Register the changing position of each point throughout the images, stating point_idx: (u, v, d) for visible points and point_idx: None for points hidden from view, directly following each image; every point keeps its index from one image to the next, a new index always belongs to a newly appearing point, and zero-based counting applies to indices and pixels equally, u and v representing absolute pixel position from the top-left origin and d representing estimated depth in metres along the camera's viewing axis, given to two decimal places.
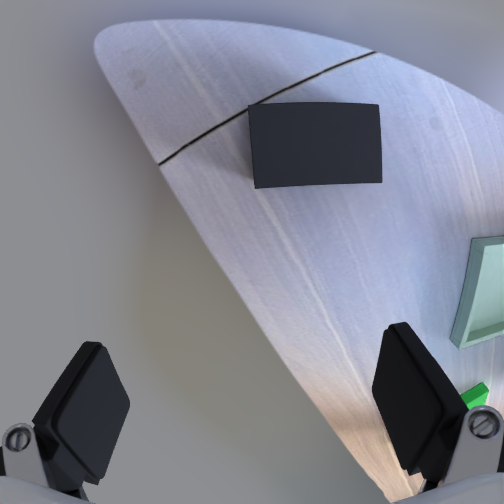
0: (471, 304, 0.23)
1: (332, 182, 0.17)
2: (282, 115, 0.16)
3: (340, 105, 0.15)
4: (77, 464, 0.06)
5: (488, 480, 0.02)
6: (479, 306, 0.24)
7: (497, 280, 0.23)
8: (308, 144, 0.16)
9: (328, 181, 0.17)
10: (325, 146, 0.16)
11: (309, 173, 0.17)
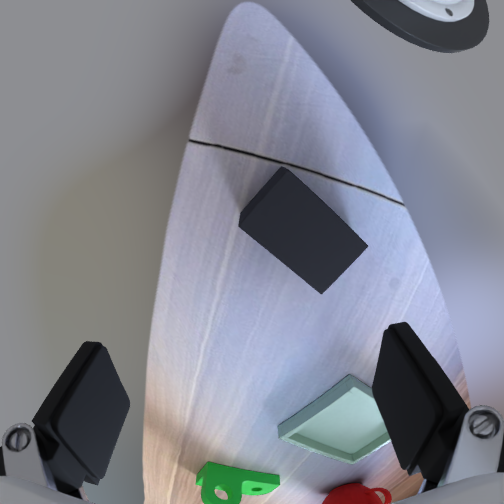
0: (312, 416, 0.29)
1: (290, 267, 0.21)
2: (302, 197, 0.19)
3: (344, 225, 0.20)
4: (77, 464, 0.06)
5: (488, 480, 0.02)
6: (317, 421, 0.32)
7: (344, 415, 0.31)
8: (299, 230, 0.20)
9: (288, 264, 0.21)
10: (308, 241, 0.20)
11: (281, 248, 0.20)
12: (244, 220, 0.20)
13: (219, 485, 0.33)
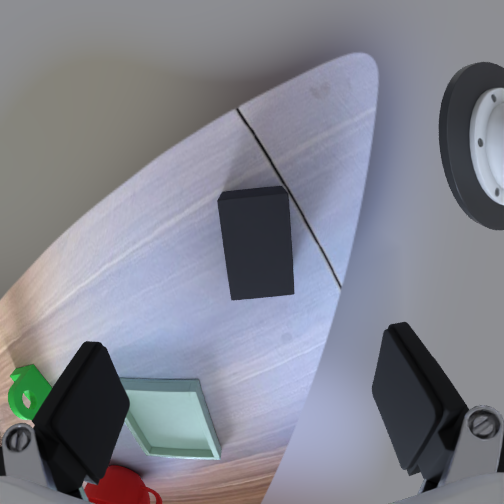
0: (145, 390, 0.30)
1: (227, 261, 0.22)
2: (279, 220, 0.21)
3: (290, 264, 0.23)
4: (77, 464, 0.06)
5: (488, 480, 0.02)
6: (144, 397, 0.32)
7: (169, 409, 0.33)
8: (256, 240, 0.22)
9: (227, 258, 0.22)
10: (255, 254, 0.22)
11: (233, 242, 0.22)
12: (225, 200, 0.21)
13: (29, 391, 0.29)
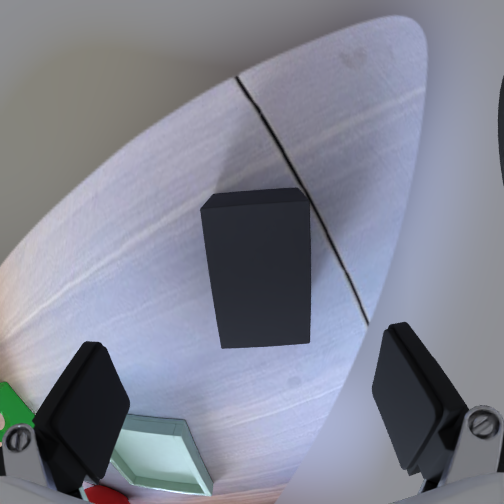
0: (123, 428, 0.23)
1: (214, 297, 0.15)
2: (294, 241, 0.14)
3: (307, 305, 0.15)
4: (77, 464, 0.06)
5: (488, 480, 0.02)
6: (124, 432, 0.25)
7: (153, 445, 0.26)
8: (258, 270, 0.15)
9: (215, 293, 0.15)
10: (257, 290, 0.15)
11: (223, 271, 0.15)
12: (212, 208, 0.14)
13: (3, 412, 0.23)
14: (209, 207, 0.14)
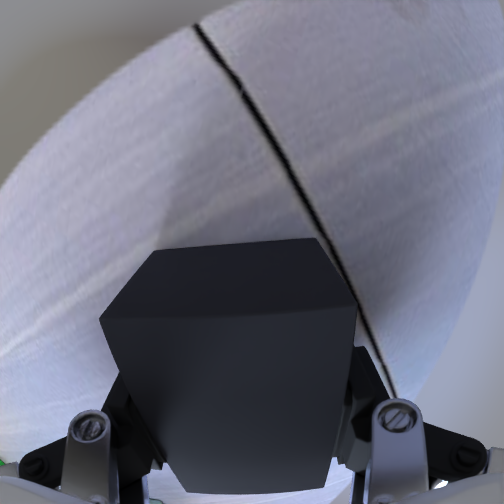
0: None
1: (162, 450, 0.07)
2: (314, 384, 0.06)
3: (326, 457, 0.07)
4: (147, 448, 0.06)
5: (488, 480, 0.02)
6: None
7: None
8: (237, 426, 0.06)
9: (162, 445, 0.07)
10: (236, 448, 0.07)
11: (169, 424, 0.06)
12: (123, 321, 0.05)
13: None
14: (116, 317, 0.05)
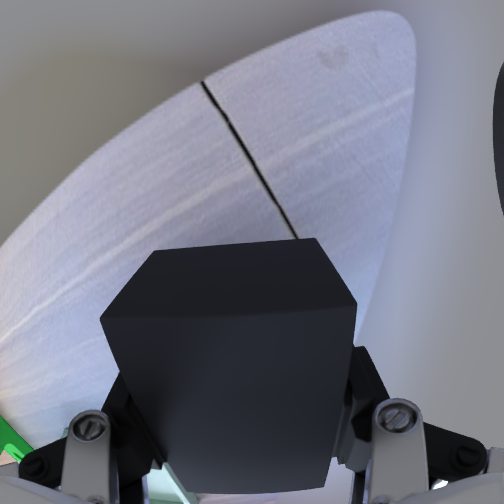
0: None
1: (162, 449, 0.07)
2: (314, 383, 0.06)
3: (326, 457, 0.07)
4: (147, 448, 0.06)
5: (488, 480, 0.02)
6: None
7: None
8: (237, 426, 0.06)
9: (162, 445, 0.07)
10: (236, 447, 0.07)
11: (169, 423, 0.06)
12: (123, 321, 0.05)
13: None
14: (117, 317, 0.05)
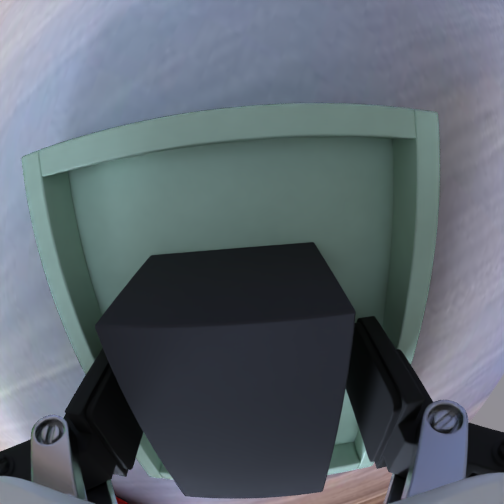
0: (200, 113, 0.06)
1: (160, 455, 0.07)
2: (312, 391, 0.06)
3: (324, 462, 0.07)
4: (108, 455, 0.06)
5: (488, 480, 0.02)
6: (169, 222, 0.09)
7: None
8: (235, 432, 0.06)
9: (159, 451, 0.07)
10: (234, 453, 0.07)
11: (166, 429, 0.06)
12: (118, 329, 0.05)
13: None
14: (112, 324, 0.05)
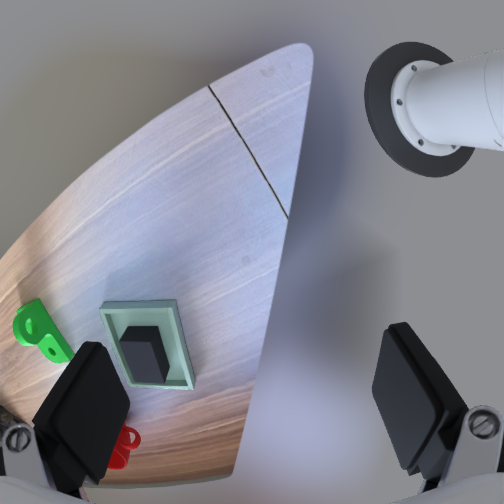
0: (131, 308, 0.38)
1: None
2: (149, 352, 0.38)
3: (159, 371, 0.39)
4: (77, 464, 0.06)
5: (488, 480, 0.02)
6: (130, 320, 0.41)
7: None
8: (140, 359, 0.38)
9: (128, 364, 0.39)
10: (141, 365, 0.39)
11: (129, 359, 0.38)
12: (122, 341, 0.37)
13: (32, 320, 0.38)
14: (121, 341, 0.37)
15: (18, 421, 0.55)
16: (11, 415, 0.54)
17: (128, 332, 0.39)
